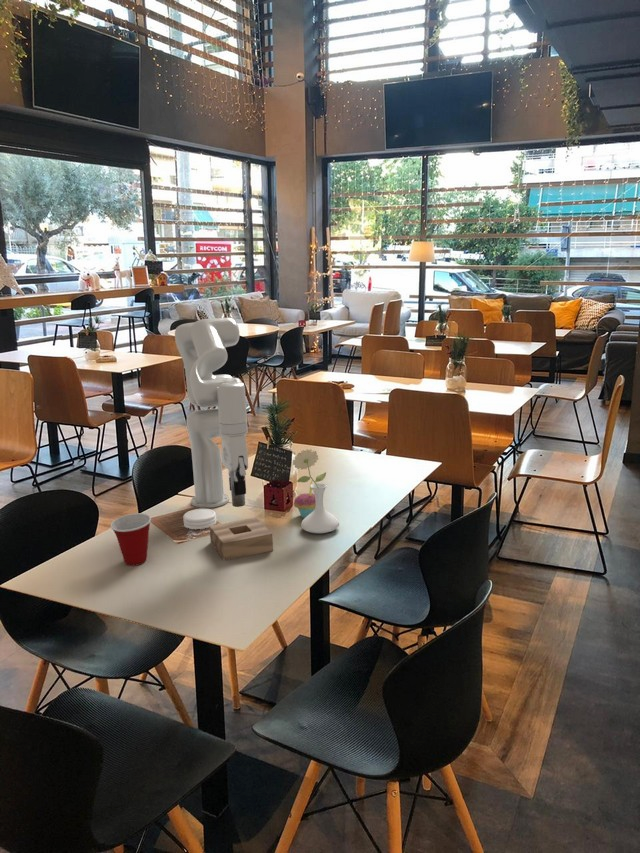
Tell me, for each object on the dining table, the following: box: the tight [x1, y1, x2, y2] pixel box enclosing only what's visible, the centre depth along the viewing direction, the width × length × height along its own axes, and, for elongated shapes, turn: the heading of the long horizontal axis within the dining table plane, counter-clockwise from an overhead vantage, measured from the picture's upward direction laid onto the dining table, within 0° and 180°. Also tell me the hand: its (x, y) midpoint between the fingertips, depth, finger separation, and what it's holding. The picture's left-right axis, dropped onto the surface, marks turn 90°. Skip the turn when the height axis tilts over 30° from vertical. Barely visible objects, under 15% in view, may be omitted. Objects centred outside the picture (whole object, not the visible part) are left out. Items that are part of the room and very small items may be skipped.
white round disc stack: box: [182, 508, 217, 531], centre depth 216 cm, size 10×10×4 cm
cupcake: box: [293, 480, 316, 519], centre depth 218 cm, size 9×8×12 cm
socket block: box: [209, 517, 274, 561], centre depth 198 cm, size 14×14×5 cm
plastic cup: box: [110, 512, 152, 567], centre depth 189 cm, size 11×11×12 cm
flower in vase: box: [292, 448, 340, 534], centre depth 205 cm, size 13×11×25 cm
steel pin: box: [230, 468, 246, 508], centre depth 194 cm, size 4×4×12 cm
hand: (237, 491), depth 194 cm, fingers closed on steel pin, 3 cm apart
